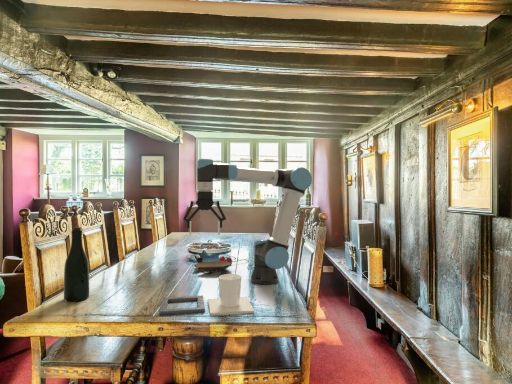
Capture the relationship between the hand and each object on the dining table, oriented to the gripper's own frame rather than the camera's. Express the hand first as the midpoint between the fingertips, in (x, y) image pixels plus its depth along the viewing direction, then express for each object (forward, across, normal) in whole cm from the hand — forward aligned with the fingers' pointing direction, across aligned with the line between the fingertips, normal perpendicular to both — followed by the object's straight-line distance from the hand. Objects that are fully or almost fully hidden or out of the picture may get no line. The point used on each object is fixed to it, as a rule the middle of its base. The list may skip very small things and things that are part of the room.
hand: (204, 234), depth 167 cm
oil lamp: (+29, +7, +48) cm, 57 cm away
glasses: (+29, +24, +70) cm, 80 cm away
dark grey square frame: (+29, -10, -16) cm, 34 cm away
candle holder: (+28, +10, -20) cm, 36 cm away
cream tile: (+29, +10, -20) cm, 36 cm away
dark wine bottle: (+29, -58, +3) cm, 65 cm away
